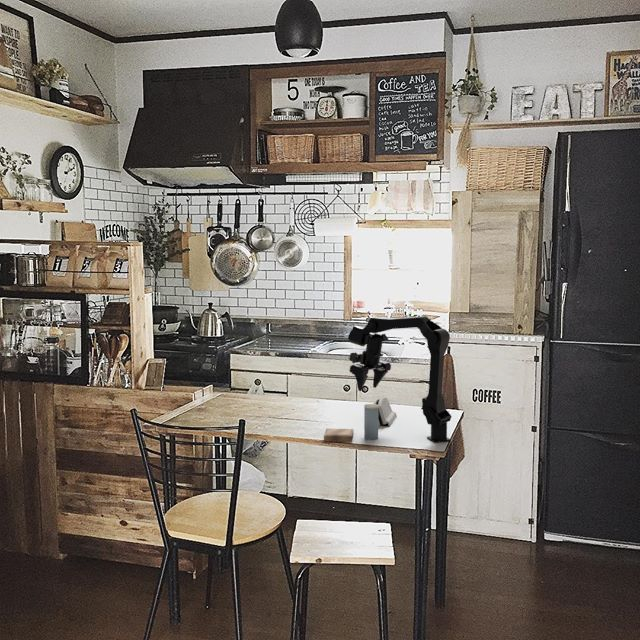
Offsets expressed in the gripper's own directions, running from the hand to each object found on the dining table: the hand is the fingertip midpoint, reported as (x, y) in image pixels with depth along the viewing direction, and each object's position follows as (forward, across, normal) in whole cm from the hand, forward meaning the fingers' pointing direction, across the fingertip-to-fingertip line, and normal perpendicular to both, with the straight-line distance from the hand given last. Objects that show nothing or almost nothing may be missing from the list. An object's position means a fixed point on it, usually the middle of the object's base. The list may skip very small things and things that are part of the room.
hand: (367, 389), depth 292 cm
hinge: (+15, -13, +2) cm, 20 cm away
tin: (+13, +10, +13) cm, 21 cm away
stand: (+15, +18, +4) cm, 23 cm away
